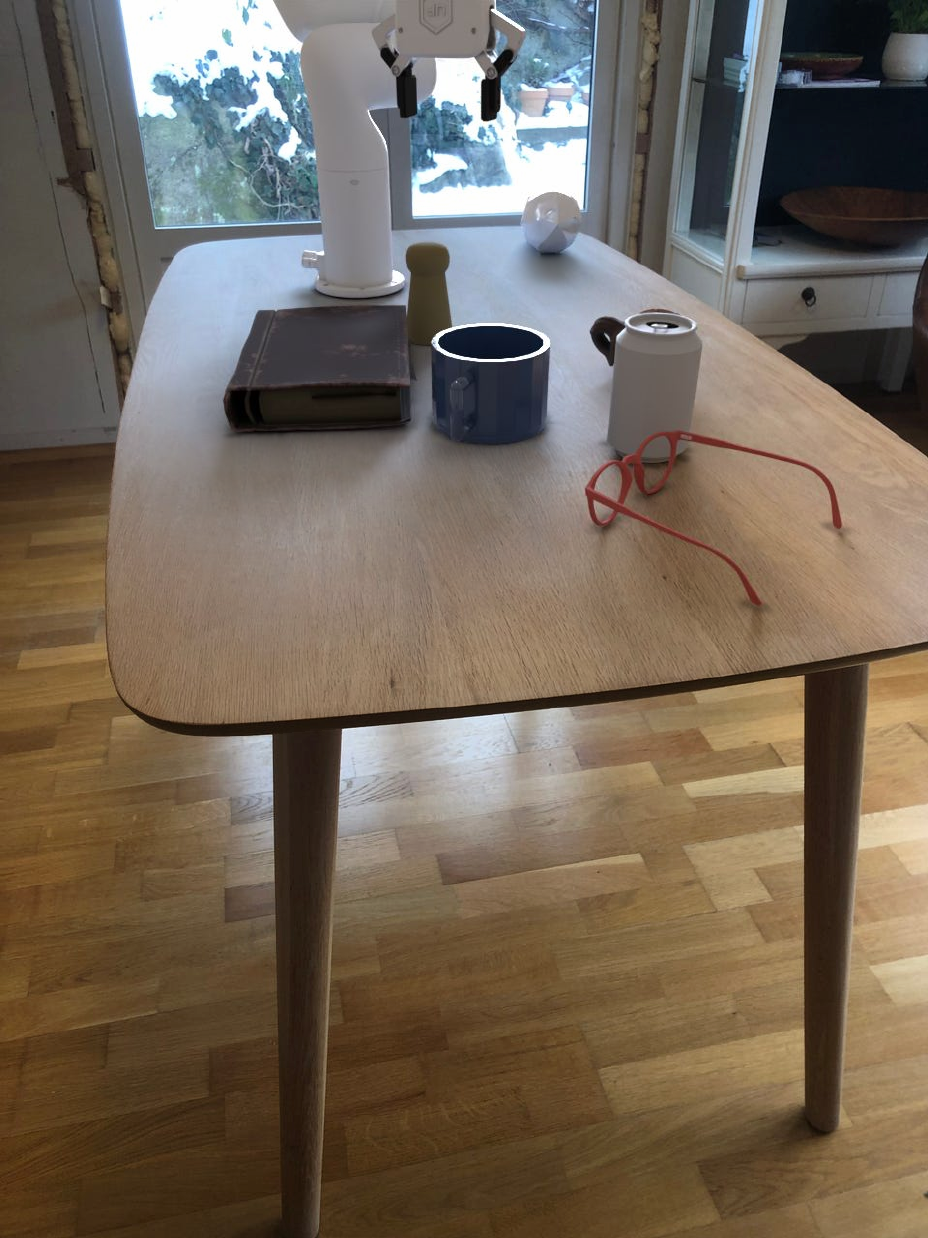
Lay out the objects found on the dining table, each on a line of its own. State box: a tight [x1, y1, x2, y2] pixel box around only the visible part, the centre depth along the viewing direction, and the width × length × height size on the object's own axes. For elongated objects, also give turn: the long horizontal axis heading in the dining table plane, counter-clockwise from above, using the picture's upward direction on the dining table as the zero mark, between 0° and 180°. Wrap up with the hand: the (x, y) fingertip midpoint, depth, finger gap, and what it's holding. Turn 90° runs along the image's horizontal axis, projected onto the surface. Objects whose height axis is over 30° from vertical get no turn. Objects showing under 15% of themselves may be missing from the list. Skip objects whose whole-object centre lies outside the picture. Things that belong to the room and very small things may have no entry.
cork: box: [405, 240, 453, 346], centre depth 113 cm, size 6×6×11 cm
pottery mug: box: [589, 308, 682, 367], centre depth 103 cm, size 12×10×8 cm
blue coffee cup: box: [430, 323, 551, 445], centre depth 91 cm, size 15×11×8 cm
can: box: [606, 313, 703, 464], centre depth 86 cm, size 8×8×12 cm
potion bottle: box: [519, 188, 583, 254], centre depth 151 cm, size 9×10×15 cm
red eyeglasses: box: [584, 430, 843, 607], centre depth 74 cm, size 17×16×5 cm
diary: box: [222, 304, 418, 433], centre depth 101 cm, size 19×25×5 cm
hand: (448, 118), depth 105 cm, fingers open, 9 cm apart
